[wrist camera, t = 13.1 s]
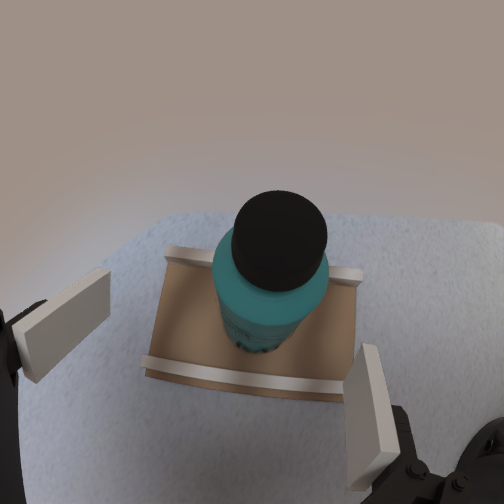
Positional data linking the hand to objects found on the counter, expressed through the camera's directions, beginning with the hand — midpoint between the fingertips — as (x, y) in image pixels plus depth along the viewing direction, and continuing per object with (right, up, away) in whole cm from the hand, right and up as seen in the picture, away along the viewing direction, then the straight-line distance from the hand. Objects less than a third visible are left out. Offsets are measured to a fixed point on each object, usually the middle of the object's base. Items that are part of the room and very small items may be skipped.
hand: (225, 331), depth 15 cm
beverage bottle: (+2, -3, +16) cm, 16 cm away
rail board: (+2, -4, +17) cm, 18 cm away
